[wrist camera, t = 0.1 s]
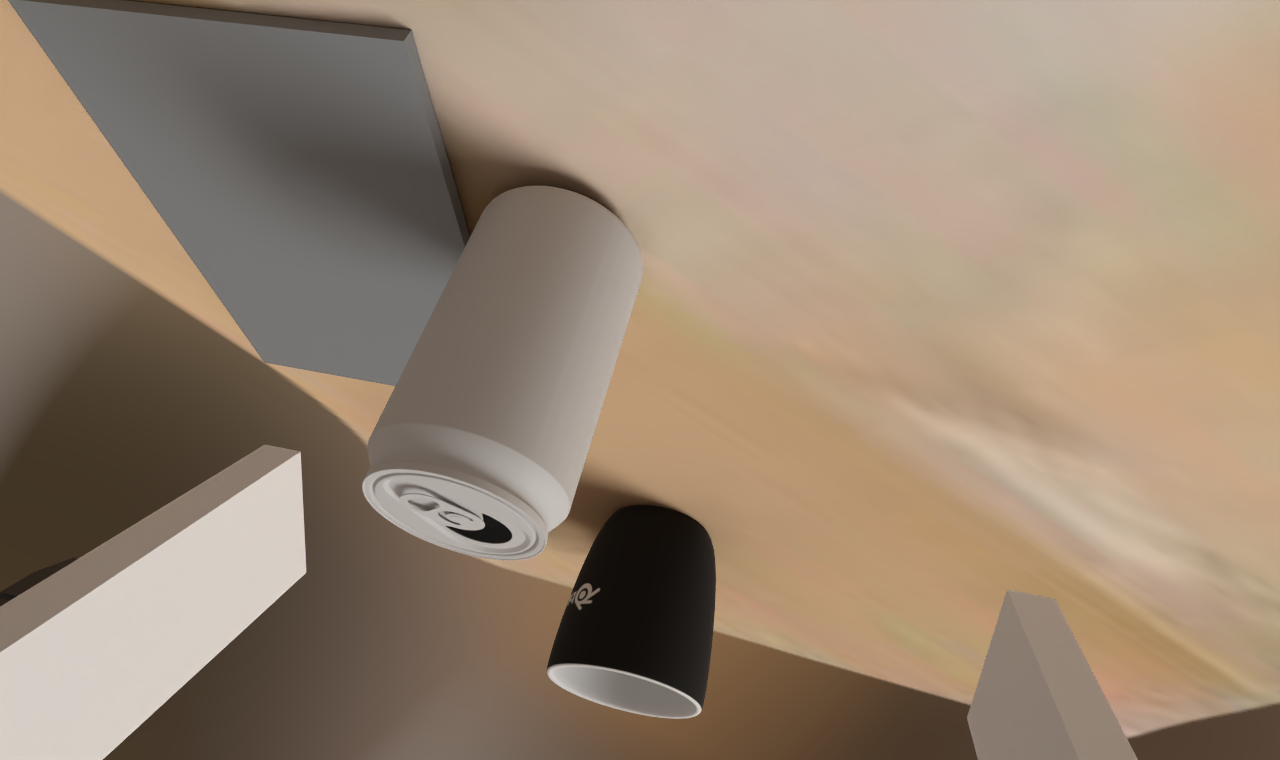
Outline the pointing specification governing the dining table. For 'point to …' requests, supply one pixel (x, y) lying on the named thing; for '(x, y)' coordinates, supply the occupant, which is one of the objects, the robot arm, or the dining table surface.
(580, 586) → the mug
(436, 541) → the beverage can
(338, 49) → the mat
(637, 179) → the dining table surface
